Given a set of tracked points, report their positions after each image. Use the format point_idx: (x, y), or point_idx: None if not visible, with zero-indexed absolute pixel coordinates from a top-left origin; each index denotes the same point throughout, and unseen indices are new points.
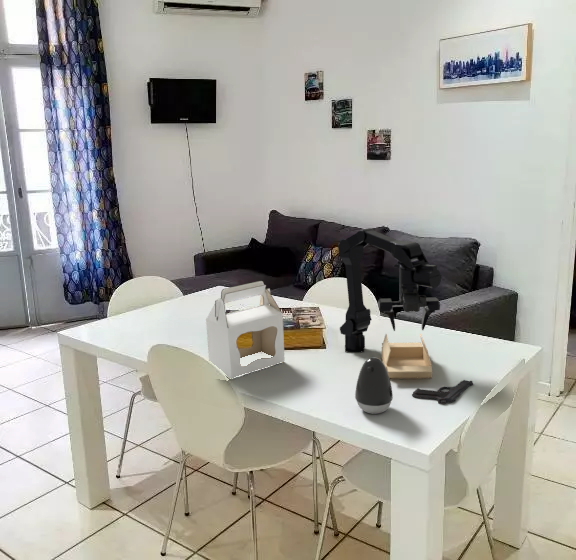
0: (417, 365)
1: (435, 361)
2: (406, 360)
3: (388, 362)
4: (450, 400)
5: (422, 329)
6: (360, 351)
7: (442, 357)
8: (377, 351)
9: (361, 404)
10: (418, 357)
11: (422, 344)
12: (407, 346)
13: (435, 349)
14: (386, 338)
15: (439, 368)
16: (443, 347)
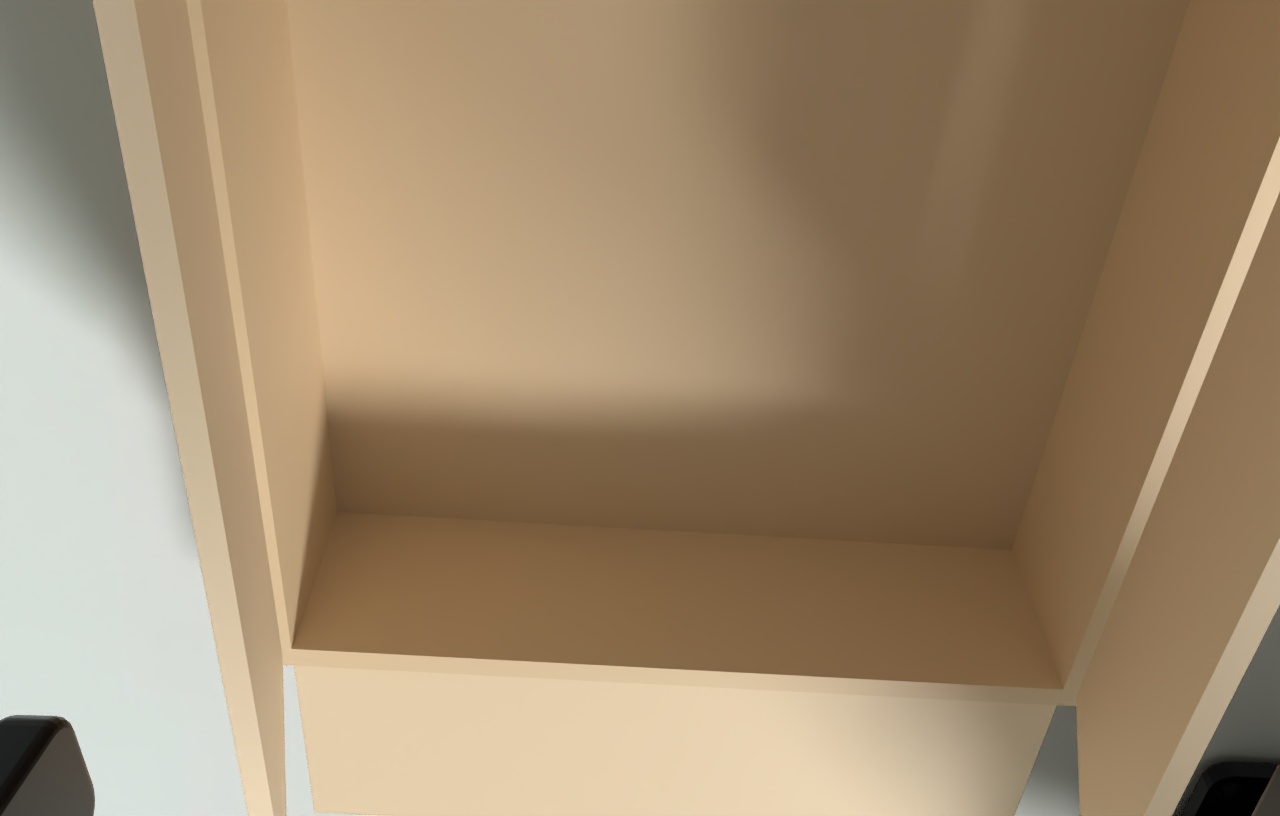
0: (469, 148)
1: (118, 353)
2: (640, 399)
3: (995, 337)
4: None
5: (39, 737)
6: (1259, 768)
7: (4, 500)
8: None
9: None
10: (409, 499)
11: (282, 678)
12: (584, 686)
13: (130, 762)
14: (1215, 717)
15: (23, 5)
16: None
